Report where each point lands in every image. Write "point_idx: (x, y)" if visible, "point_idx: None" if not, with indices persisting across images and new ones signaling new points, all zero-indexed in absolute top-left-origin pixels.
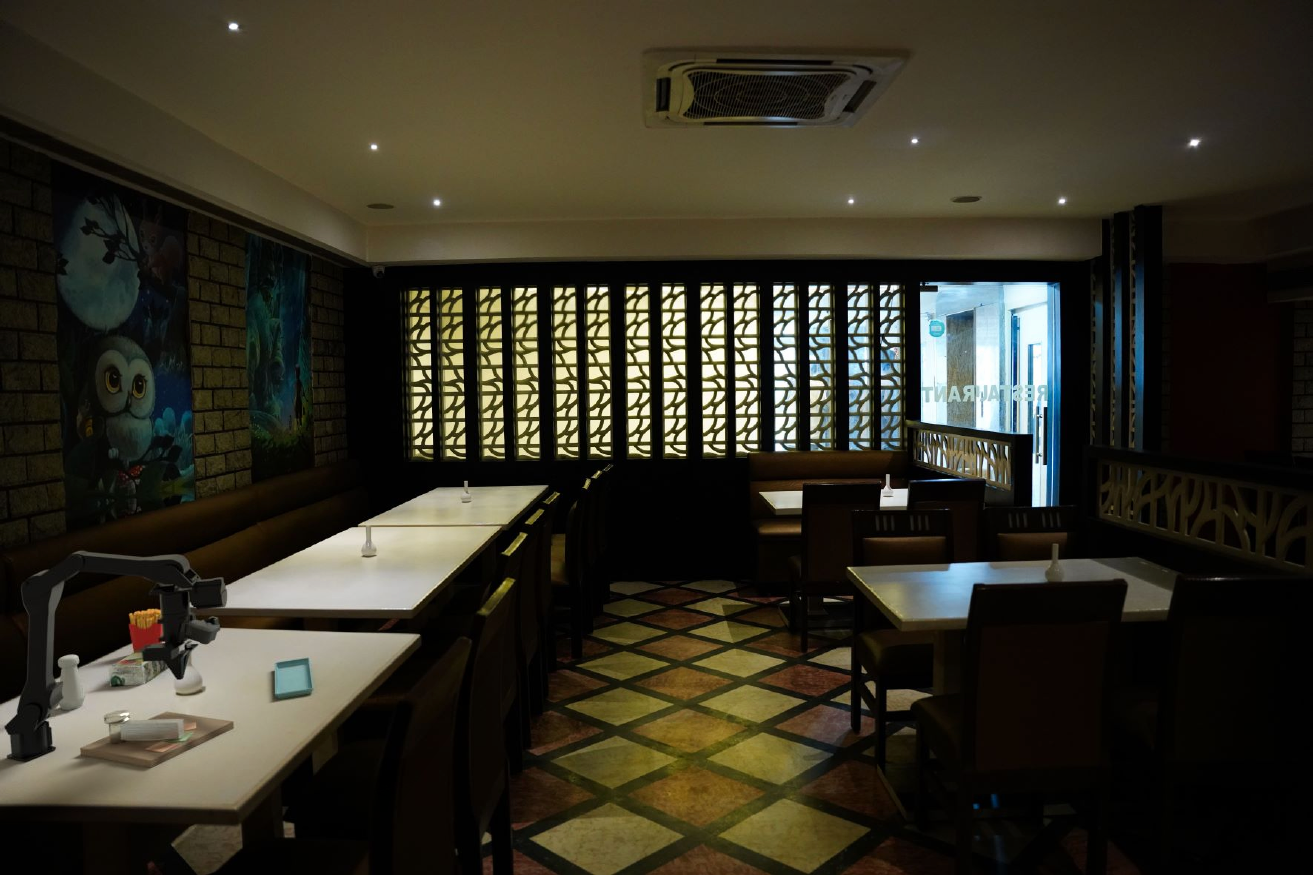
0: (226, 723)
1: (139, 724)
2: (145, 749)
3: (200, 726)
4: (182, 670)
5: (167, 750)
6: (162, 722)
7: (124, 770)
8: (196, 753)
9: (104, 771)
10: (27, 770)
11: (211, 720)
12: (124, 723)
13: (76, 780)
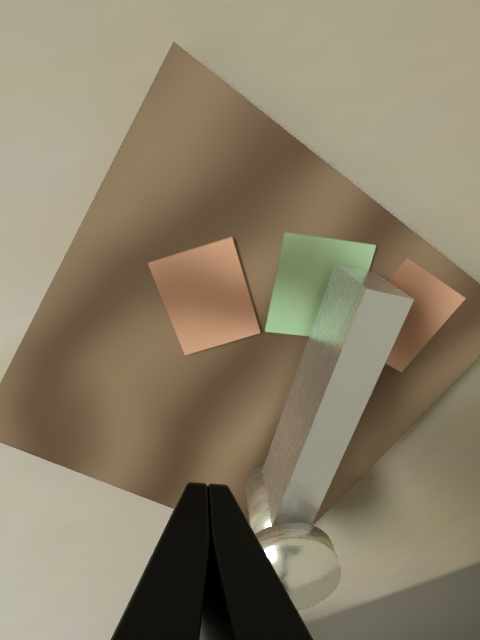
0: (195, 82)
1: (335, 462)
2: (402, 369)
3: (204, 224)
4: (251, 575)
5: (447, 285)
6: (371, 376)
7: (473, 380)
8: (448, 168)
9: (448, 431)
10: (342, 590)
11: (128, 189)
12: (310, 517)
13: (474, 473)
